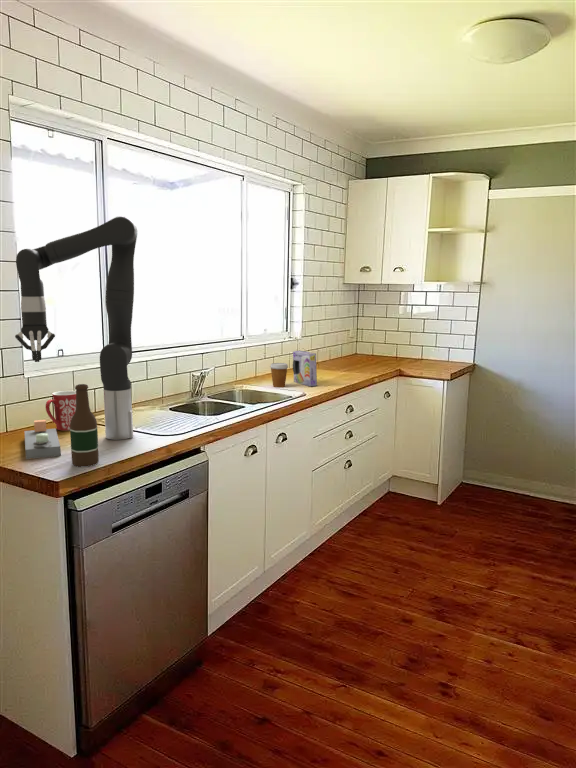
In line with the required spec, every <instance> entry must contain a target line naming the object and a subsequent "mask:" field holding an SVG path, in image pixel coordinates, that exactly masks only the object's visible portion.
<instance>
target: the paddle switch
mask: <svg viewBox="0 0 576 768" xmlns="http://www.w3.org/2000/svg"><path fill="white" fill-rule="evenodd" d="M33 425H34V430H35V432H40V431H46V429H47V420H46V419H38V420H37V419H35V420H33Z"/></svg>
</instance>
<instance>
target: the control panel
mask: <svg viewBox="0 0 576 768" xmlns="http://www.w3.org/2000/svg"><path fill="white" fill-rule="evenodd" d="M40 433H47V434H48V438H49V441H48V443H44V444H37V443H36V434H40ZM24 445H25V446H24V447H25V460H31V459H30V458H33V459H41V458H40V457H43V458H49V457H51V456H52V457H61V456H62V455H61V454H62V453H61V452H62V450H61V449H62V448H61V443H60V439H59V437H58V432H57V428H46V431H40V432H35V429H34V430H33V429H31V430H24ZM60 455H61V456H60Z"/></svg>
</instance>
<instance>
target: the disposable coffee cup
mask: <svg viewBox="0 0 576 768" xmlns="http://www.w3.org/2000/svg"><path fill="white" fill-rule="evenodd" d="M269 367H270V373H271V380H272V387H273V388H284V387H285V388H286V381H287V373H288V368H289V366H288V363H285V362H273V363H270V366H269Z"/></svg>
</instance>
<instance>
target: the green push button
mask: <svg viewBox="0 0 576 768" xmlns="http://www.w3.org/2000/svg"><path fill="white" fill-rule="evenodd" d="M47 441H49V438H48V434H47V433H40V434H36V442H47Z"/></svg>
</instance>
